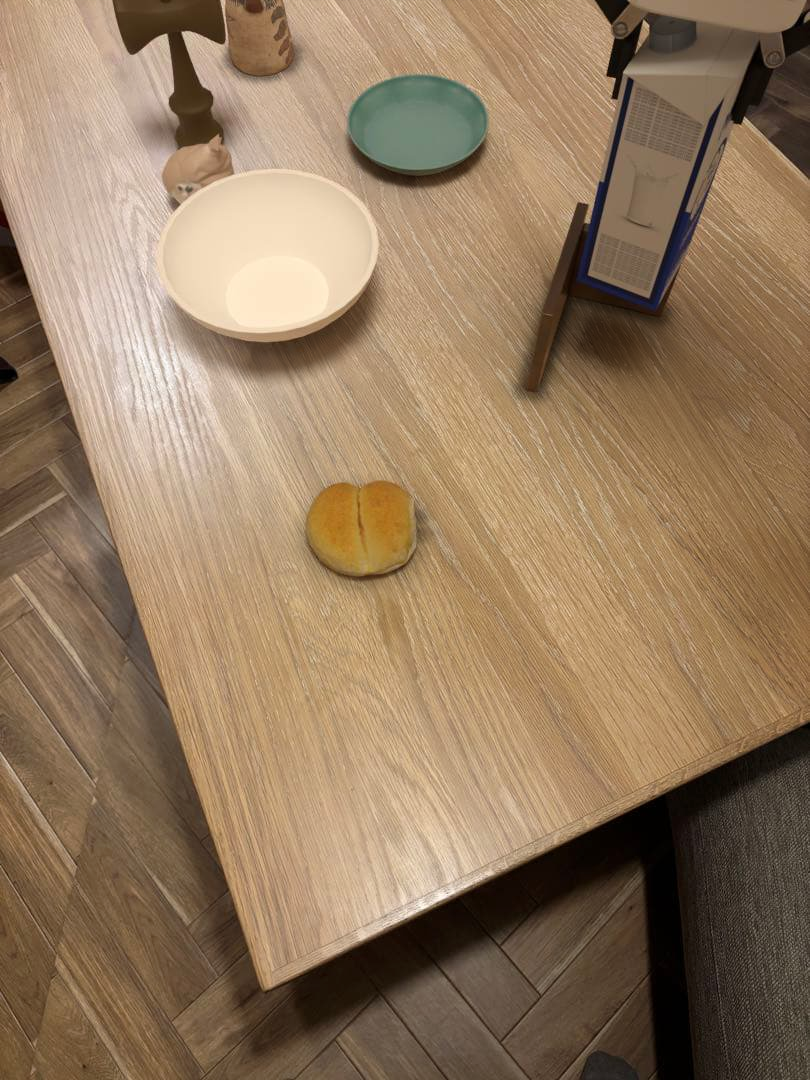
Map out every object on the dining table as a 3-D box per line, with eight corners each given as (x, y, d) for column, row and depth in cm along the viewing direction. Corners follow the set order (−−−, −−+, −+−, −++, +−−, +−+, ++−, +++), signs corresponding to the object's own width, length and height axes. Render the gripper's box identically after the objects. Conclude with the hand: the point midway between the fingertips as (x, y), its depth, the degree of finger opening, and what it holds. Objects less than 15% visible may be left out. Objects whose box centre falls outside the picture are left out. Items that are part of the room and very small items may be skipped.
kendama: (250, 152, 91) (212, -48, 73) (158, 167, 90) (97, -32, 72) (241, 115, 94) (203, -87, 76) (152, 129, 93) (92, -72, 75)
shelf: (663, 309, 81) (694, 227, 72) (636, 418, 76) (666, 344, 67) (559, 284, 83) (577, 201, 74) (525, 389, 77) (541, 313, 68)
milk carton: (654, 313, 68) (738, 75, 50) (575, 282, 69) (629, 41, 52) (686, 254, 71) (776, 9, 53) (609, 226, 72) (672, -21, 54)
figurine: (294, 35, 100) (280, -77, 89) (294, 75, 97) (280, -37, 86) (232, 38, 100) (211, -75, 89) (230, 78, 97) (208, -34, 86)
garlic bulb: (205, 233, 86) (187, 166, 79) (159, 205, 88) (137, 137, 81) (250, 195, 88) (236, 127, 81) (204, 169, 90) (186, 99, 83)
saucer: (410, 77, 97) (410, 55, 94) (514, 135, 92) (517, 113, 90) (319, 146, 92) (317, 124, 89) (426, 211, 87) (426, 190, 85)
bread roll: (307, 493, 73) (302, 468, 69) (414, 489, 73) (414, 464, 69) (306, 583, 69) (301, 561, 65) (418, 579, 69) (419, 557, 65)
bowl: (133, 300, 82) (111, 246, 76) (286, 196, 88) (277, 138, 82) (268, 420, 76) (256, 372, 70) (423, 299, 82) (424, 244, 76)
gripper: (586, -231, 41) (536, 108, 56) (973, -173, 38) (807, 164, 54) (618, -300, 44) (562, 39, 60) (977, -251, 41) (819, 89, 57)
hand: (679, 97), depth 57 cm, fingers closed on milk carton, 7 cm apart
